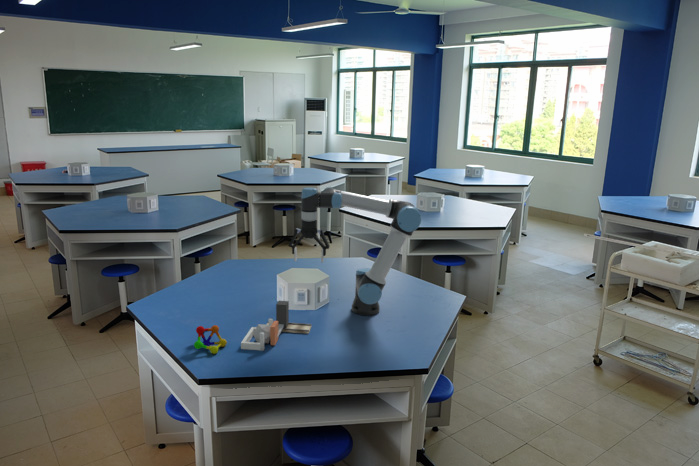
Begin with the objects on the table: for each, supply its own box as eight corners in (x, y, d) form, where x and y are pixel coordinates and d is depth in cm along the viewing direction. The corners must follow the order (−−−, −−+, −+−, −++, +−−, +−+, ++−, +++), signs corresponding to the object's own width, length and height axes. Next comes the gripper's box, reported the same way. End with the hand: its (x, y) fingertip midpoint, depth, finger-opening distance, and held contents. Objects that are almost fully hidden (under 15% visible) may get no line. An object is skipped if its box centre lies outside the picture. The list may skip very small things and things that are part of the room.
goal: (273, 334, 248) (273, 318, 246) (263, 350, 231) (263, 334, 229) (252, 332, 249) (251, 317, 247) (240, 349, 232) (240, 332, 230)
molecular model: (225, 348, 239) (196, 333, 239) (233, 331, 237) (204, 316, 236) (214, 364, 225) (183, 348, 224) (223, 346, 222) (192, 330, 222)
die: (262, 349, 233) (275, 330, 234) (246, 337, 234) (259, 319, 235) (266, 347, 242) (279, 329, 243) (251, 336, 243) (263, 318, 244)
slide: (311, 326, 257) (311, 323, 256) (308, 333, 249) (308, 330, 249) (268, 323, 259) (268, 320, 259) (264, 330, 251) (263, 327, 251)
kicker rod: (288, 325, 256) (288, 301, 253) (278, 345, 235) (277, 319, 232) (278, 325, 257) (278, 300, 254) (267, 344, 236) (267, 318, 232)
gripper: (335, 219, 254) (334, 260, 259) (285, 216, 257) (286, 257, 262) (333, 222, 247) (332, 264, 252) (282, 220, 249) (282, 261, 254)
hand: (308, 261), depth 257 cm, fingers open, 13 cm apart
